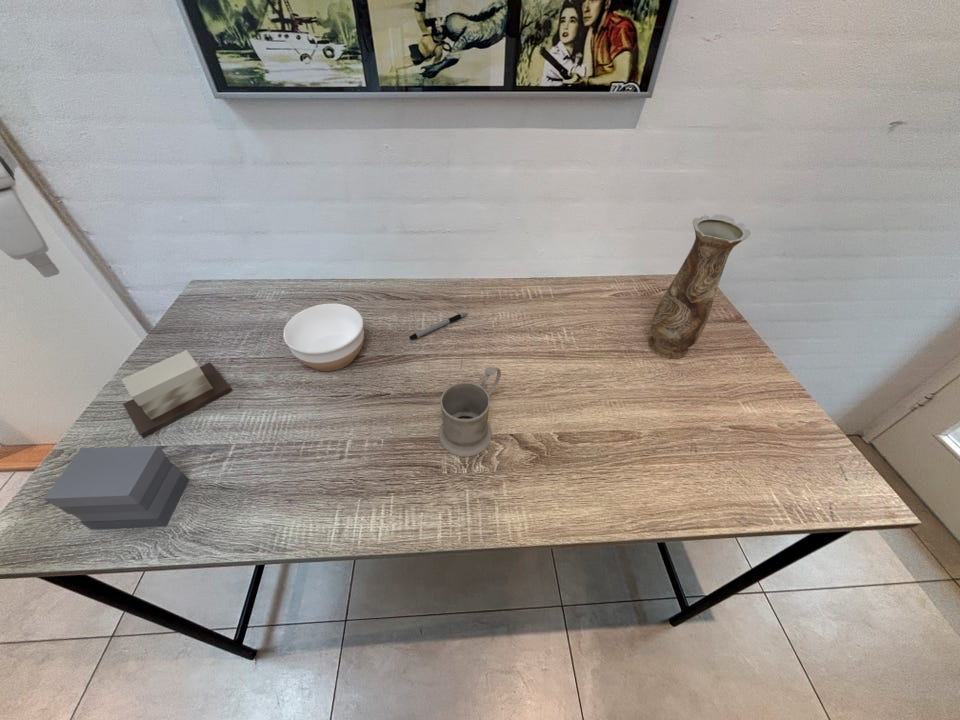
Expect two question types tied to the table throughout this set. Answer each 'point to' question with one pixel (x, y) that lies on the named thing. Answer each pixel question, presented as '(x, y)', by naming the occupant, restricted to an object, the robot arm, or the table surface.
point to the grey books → (119, 487)
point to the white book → (162, 377)
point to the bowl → (325, 336)
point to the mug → (472, 402)
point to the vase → (694, 286)
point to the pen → (437, 326)
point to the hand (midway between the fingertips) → (44, 260)
